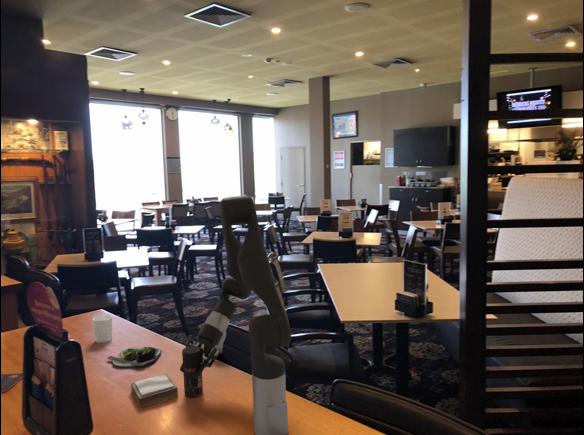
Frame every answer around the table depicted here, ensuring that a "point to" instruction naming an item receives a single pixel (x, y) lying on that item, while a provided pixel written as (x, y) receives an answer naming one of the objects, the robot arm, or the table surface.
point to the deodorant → (190, 363)
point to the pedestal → (154, 390)
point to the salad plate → (136, 357)
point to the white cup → (102, 328)
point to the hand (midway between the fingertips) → (188, 374)
